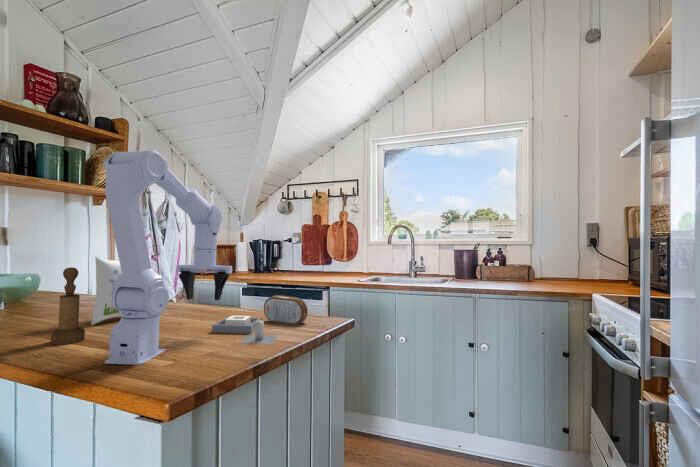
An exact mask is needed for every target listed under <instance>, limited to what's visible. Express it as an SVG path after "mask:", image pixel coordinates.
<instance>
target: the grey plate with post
mask: <svg viewBox="0 0 700 467" xmlns="http://www.w3.org/2000/svg"><path fill="white" fill-rule="evenodd" d="M264 325H265V321H264V320H263V319H262V320H259V321H256V329H255V331H254V332H255V333H254V334H247V335H246V336H245V337H244V338H242V339H241V340H240V341H239V342H238V344H252V345H254V344H256V345H257V344H258V345H263V344H264V345H272V344H273V343H274V341H275V340H276V339H277V338H278V337H279V335H277V334H274V335H273V334H272V335H271V334H270V335H269V334H264V329H265V328H264Z"/></svg>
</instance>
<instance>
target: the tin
mask: <svg viewBox="0 0 700 467" xmlns="http://www.w3.org/2000/svg"><path fill="white" fill-rule="evenodd" d="M263 304H264V305H263V312H264V316H265V318H267V320H268V321H270V322H272V323H290V324H295V325H296V324H297V325H298V324H302V323H304V322H305V321H306V319H307V318H308V312H309V311H308V310H309V309H308V306H307V304H306V303H305V301H304V300H303V299H301V297H296V296H290V295H289V296H288V295H280V294H275V295H272V296H271V297H270V296H269V297H268V298H267V299H266V300H265V302H264V303H263Z"/></svg>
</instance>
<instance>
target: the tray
mask: <svg viewBox="0 0 700 467" xmlns="http://www.w3.org/2000/svg"><path fill="white" fill-rule="evenodd" d="M229 317H230V316H226V317H224V318H222V319H220V320H219V321H216V322H215V323H213V324H212V325H211V333H215V334H217V333H218V334H247V335H252V334H253V333H254V332H255V329H256V321H259V320H262V321H263V319H262V317H251V324H250V325H225V319H227V318H229Z"/></svg>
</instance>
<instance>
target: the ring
mask: <svg viewBox="0 0 700 467" xmlns="http://www.w3.org/2000/svg"><path fill="white" fill-rule="evenodd" d="M228 317H229V318H227V319H225V325H250V324H251V318H252V316H251V315H231V316H228Z"/></svg>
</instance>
